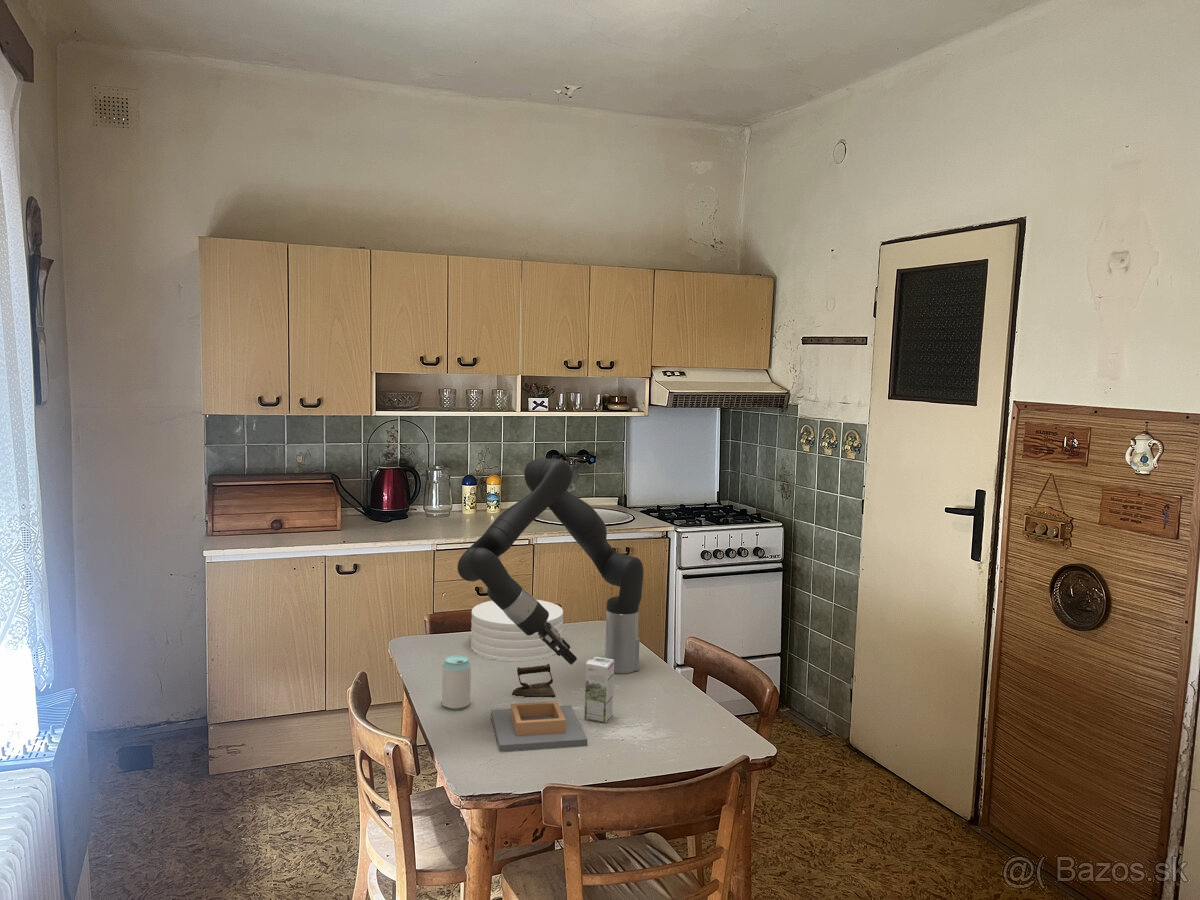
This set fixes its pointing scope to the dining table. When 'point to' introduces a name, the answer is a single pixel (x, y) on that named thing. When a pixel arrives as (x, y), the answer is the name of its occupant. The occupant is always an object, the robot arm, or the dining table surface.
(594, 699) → the syrup box
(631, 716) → the dining table surface
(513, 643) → the plate stack
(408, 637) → the dining table surface
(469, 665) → the can
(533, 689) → the clothes iron
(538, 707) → the collar stand
